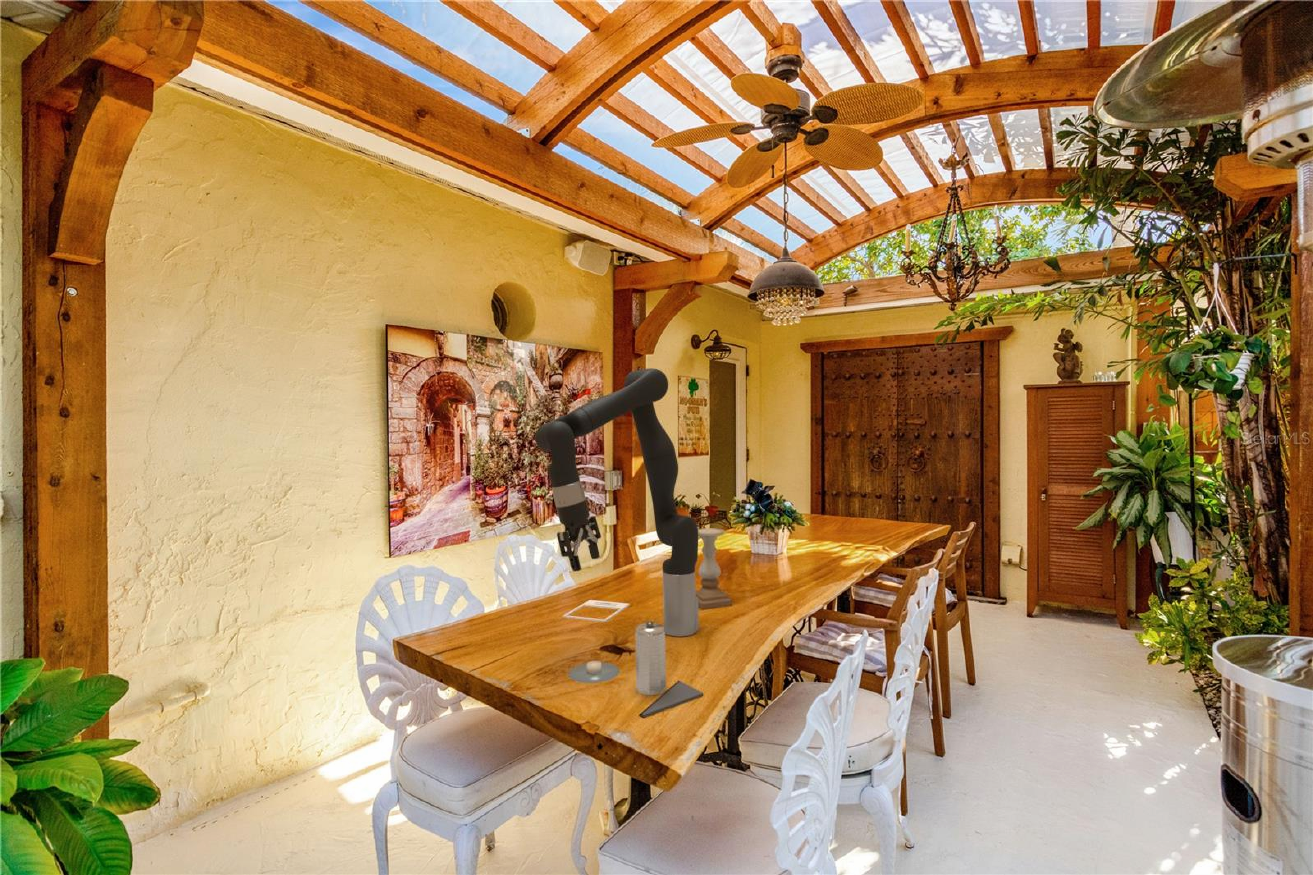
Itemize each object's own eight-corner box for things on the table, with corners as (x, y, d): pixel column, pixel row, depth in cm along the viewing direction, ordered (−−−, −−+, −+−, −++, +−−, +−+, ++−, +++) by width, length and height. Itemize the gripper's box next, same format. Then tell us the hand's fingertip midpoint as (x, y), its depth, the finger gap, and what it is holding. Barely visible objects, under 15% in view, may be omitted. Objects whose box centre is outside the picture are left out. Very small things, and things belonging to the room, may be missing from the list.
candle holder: (688, 600, 203) (686, 529, 203) (717, 596, 207) (716, 526, 207) (702, 609, 193) (700, 534, 193) (732, 605, 197) (731, 532, 197)
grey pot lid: (602, 662, 152) (602, 650, 152) (629, 677, 142) (629, 664, 142) (559, 674, 145) (559, 662, 145) (584, 692, 135) (584, 678, 135)
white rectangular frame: (629, 603, 200) (605, 620, 183) (629, 606, 200) (605, 623, 183) (589, 599, 205) (562, 615, 188) (590, 602, 205) (562, 618, 188)
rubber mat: (658, 672, 145) (658, 670, 145) (703, 695, 132) (703, 693, 132) (601, 691, 135) (601, 688, 135) (643, 718, 122) (643, 715, 122)
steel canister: (645, 682, 138) (644, 617, 137) (669, 687, 135) (668, 620, 135) (632, 693, 132) (631, 625, 132) (656, 698, 130) (655, 628, 129)
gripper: (566, 507, 142) (583, 574, 143) (598, 492, 154) (613, 553, 155) (541, 511, 145) (558, 576, 146) (574, 496, 158) (589, 555, 159)
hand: (586, 564), depth 151 cm, fingers open, 8 cm apart
